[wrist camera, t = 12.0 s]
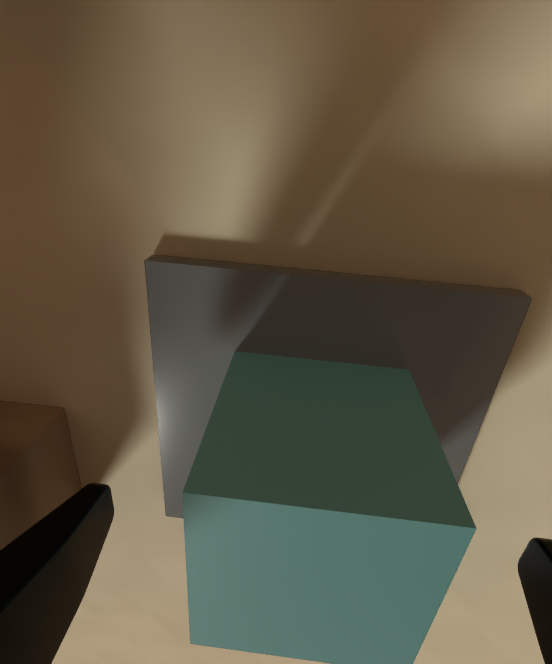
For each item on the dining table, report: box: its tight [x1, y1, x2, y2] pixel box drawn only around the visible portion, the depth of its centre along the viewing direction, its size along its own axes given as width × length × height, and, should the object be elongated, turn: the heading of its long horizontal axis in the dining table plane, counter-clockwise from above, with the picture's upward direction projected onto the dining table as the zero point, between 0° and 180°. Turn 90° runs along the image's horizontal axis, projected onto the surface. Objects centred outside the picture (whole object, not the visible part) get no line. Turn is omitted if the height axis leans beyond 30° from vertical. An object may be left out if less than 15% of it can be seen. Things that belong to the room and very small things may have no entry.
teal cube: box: [182, 351, 476, 664], centre depth 9 cm, size 4×4×4 cm
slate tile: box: [144, 255, 532, 518], centre depth 11 cm, size 9×9×1 cm
